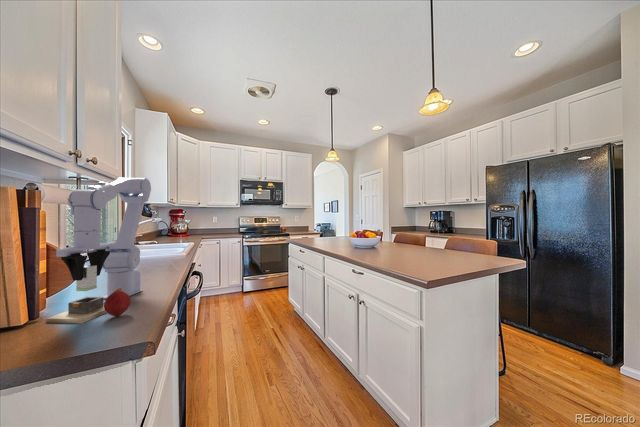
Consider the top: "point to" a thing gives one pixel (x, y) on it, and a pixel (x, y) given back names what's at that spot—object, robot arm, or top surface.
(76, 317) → the stand
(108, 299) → the onion
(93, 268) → the post
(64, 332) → the top surface
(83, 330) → the top surface
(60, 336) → the top surface
